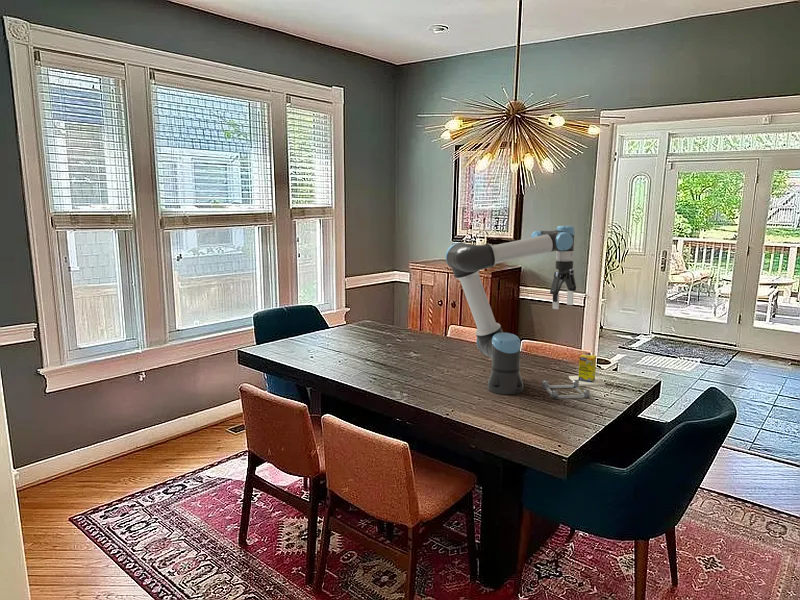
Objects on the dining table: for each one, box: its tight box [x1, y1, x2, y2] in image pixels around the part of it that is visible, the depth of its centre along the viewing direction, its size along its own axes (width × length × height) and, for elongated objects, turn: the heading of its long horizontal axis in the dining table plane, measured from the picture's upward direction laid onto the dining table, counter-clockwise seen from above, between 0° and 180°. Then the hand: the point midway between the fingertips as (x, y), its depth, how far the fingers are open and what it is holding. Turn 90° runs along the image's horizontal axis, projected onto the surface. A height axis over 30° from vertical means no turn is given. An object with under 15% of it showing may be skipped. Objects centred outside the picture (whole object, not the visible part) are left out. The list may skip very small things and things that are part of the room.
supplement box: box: [578, 353, 597, 382], centre depth 242 cm, size 6×6×11 cm
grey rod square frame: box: [542, 379, 591, 400], centre depth 229 cm, size 15×15×3 cm
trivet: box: [568, 375, 606, 387], centre depth 243 cm, size 12×12×1 cm
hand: (562, 306), depth 250 cm, fingers open, 13 cm apart
